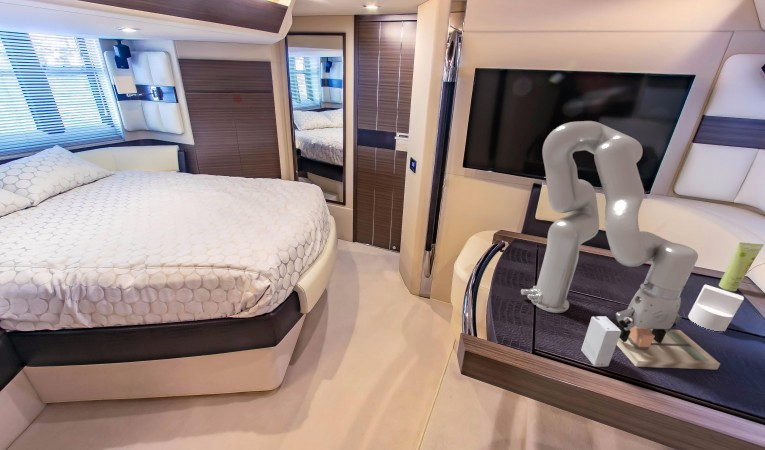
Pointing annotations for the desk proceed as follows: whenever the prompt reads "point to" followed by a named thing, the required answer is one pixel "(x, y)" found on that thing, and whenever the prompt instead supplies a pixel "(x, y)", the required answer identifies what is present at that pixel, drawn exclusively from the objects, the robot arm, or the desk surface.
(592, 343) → the skincare box
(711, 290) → the cylinder with rectangular tab
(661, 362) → the fader board
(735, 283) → the tube
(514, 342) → the desk surface
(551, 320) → the desk surface
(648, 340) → the fader tab
